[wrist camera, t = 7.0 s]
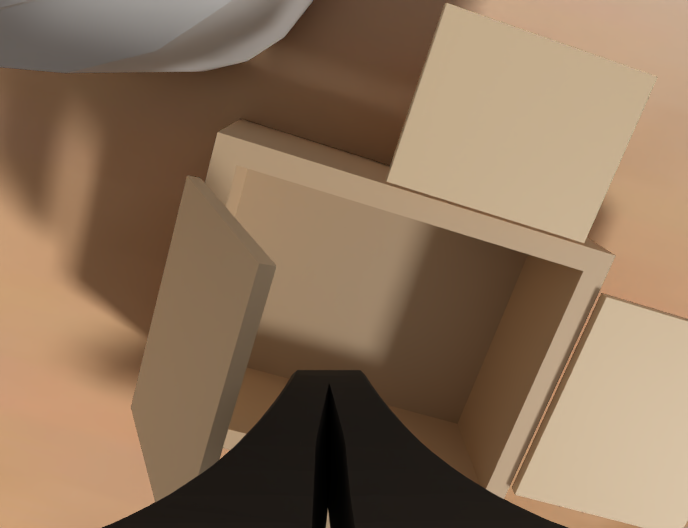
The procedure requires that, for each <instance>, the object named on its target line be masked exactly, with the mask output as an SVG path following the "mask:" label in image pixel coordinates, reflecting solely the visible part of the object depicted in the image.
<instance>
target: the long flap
mask: <svg viewBox="0 0 688 528" xmlns="http://www.w3.org/2000/svg"><path fill="white" fill-rule="evenodd" d="M276 267H277V266H276V264H275V263H274V262H273V261H272V260H271V259H270V257H269V256H268V255H267V254H266V253H265V252H264V251H263V249H262V248H261V247H260V246H259V245H258V244H257V243H256V241H255V240H254V239H253V238H252V237H251V236H250V234H249V233H248V232H247V231H246V230H245V229H244V228H243V226H242V225H241V224H240V223H239V222H238V221H237V220H236V218H235V217H234V216H233V215H232V214H231V213H230V211H229V210H228V209H227V208H226V207H225V206H224V205H223V203H222V202H221V201H220V200H219V199H218V198H217V197H216V195H215V194H214V193H213V192H212V191H211V190H210V188H209V187H208V186H207V185H206V184H205V183H204V182H203V180H202V179H201V178H198V177H193V176H188V175H187V178H186V182H185V186H184V190H183V194H182V198H181V202H180V207H179V211H178V215H177V219H176V223H175V227H174V231H173V235H172V240H171V244H170V248H169V252H168V256H167V260H166V264H165V268H164V272H163V277H162V281H161V285H160V289H159V293H158V297H157V301H156V305H155V310H154V314H153V318H152V322H151V326H150V330H149V334H148V338H147V343H146V347H145V351H144V355H143V359H142V363H141V367H140V371H139V376H138V380H137V384H136V388H135V392H134V396H133V400H132V404H131V410H132V414H133V418H134V422H135V425H136V429H137V433H138V437H139V441H140V445H141V449H142V453H143V456H144V460H145V464H146V468H147V472H148V476H149V480H150V484H151V487H152V491H153V495H154V499H155V502H157V501H159V500H160V499H162V498H164V497H166V496H167V495H169V494H171V493H173V492H174V491H176V490H177V489H179V488H180V487H182V486H183V485H185V484H186V483H188V482H189V481H191V480H192V479H194V478H195V477H197V476H198V475H200V474H201V473H203V472H204V471H206V470H207V469H208V468H210V467H211V466H212V465H214V464H215V463H216V462H217V461H219V459H220V455H221V452H222V449H223V445H224V442H225V439H226V435H227V432H228V429H229V425H230V422H231V418H232V415H233V412H234V408H235V405H236V402H237V398H238V395H239V391H240V388H241V385H242V381H243V378H244V375H245V371H246V368H247V365H248V361H249V358H250V354H251V351H252V348H253V344H254V341H255V338H256V334H257V331H258V327H259V324H260V321H261V317H262V314H263V311H264V307H265V304H266V301H267V297H268V294H269V290H270V287H271V284H272V280H273V277H274V274H275V270H276Z"/></svg>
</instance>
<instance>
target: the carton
mask: <svg viewBox="0 0 688 528" xmlns="http://www.w3.org/2000/svg"><path fill="white" fill-rule="evenodd" d="M656 79H657V76H654V75H652V74H649V73H646V72H643V71H640V70H637V69H634V68H632V67H629V66H626V65H623V64H620V63H617V62H614V61H612V60H609V59H606V58H603V57H600V56H597V55H594V54H592V53H589V52H586V51H583V50H580V49H577V48H574V47H572V46H569V45H566V44H563V43H560V42H557V41H554V40H552V39H549V38H546V37H543V36H540V35H537V34H535V33H532V32H529V31H526V30H523V29H520V28H517V27H515V26H512V25H509V24H506V23H503V22H500V21H497V20H495V19H492V18H489V17H486V16H483V15H480V14H477V13H475V12H472V11H469V10H466V9H463V8H460V7H457V6H455V5H452V4H449V3H445V4H444V6H443V9H442V12H441V15H440V18H439V21H438V24H437V27H436V30H435V33H434V36H433V39H432V42H431V45H430V48H429V51H428V54H427V57H426V60H425V63H424V66H423V69H422V72H421V75H420V78H419V81H418V84H417V87H416V90H415V93H414V96H413V99H412V102H411V105H410V108H409V111H408V114H407V117H406V120H405V123H404V126H403V129H402V131H401V134H400V137H399V140H398V143H397V146H396V149H395V152H394V155H393V158H392V161H391V164H390V166H389V165H386V164H383V163H380V162H377V161H374V160H370V159H367V158H364V157H361V156H358V155H355V154H351V153H348V152H345V151H342V150H339V149H335V148H332V147H329V146H326V145H323V144H320V143H316V142H313V141H310V140H307V139H304V138H300V137H297V136H294V135H291V134H288V133H285V132H281V131H278V130H275V129H272V128H269V127H266V126H262V125H259V124H256V123H253V122H250V121H246V120H243V119H239V120H237V121H236V122H234V123H232V124H231V125H229V126H227V127H225V128H224V129H222V130H220V131H218V132H217V136H216V140H215V144H214V148H213V152H212V156H211V160H210V164H209V168H208V172H207V176H206V180H205V184H206V185H207V186H208V187H209V188H210V190H211V191H212V192H213V193H214V194H215V195H216V197H217V198H218V199H219V200H220V201H221V202H222V203H223V205H224V206H225V207H226V208H227V209H228V210H229V211H230V213H231V214H232V215H233V216H234V217H235V218H236V220H237V221H238V222H239V223H240V224H241V225H242V226H243V228H244V229H245V230H246V231H247V232H248V233H249V234H250V236H251V237H252V238H253V239H254V240H255V241H256V243H257V244H258V245H259V246H260V247H261V248H262V249H263V251H264V252H265V253H266V254H267V255H268V256H269V257H270V259H271V260H272V261H273V262H274V263H275V264H276V266H277V267H276V270H275V274H274V277H273V280H272V284H271V287H270V290H269V294H268V297H267V301H266V304H265V307H264V311H263V314H262V317H261V321H260V324H259V327H258V331H257V334H256V338H255V341H254V344H253V348H252V351H251V354H250V358H249V361H248V365H247V368H246V371H245V375H244V378H243V381H242V385H241V388H240V391H239V395H238V398H237V402H236V405H235V408H234V412H233V415H232V418H231V422H230V425H229V429H228V432H227V435H226V439H225V442H224V445H223V448H224V449H228V450H231V449H232V448H233V447H234V446H235V445H236V444H237V443H238V442H239V441H240V440H241V439H242V438H243V437H244V436H245V435H246V434H247V433H248V432H249V431H250V430H251V429H252V428H253V426H254V425H255V424H256V423H257V422H258V421H259V420H260V419H261V417H262V416H263V415H264V414H265V412H266V411H267V410H268V409H269V407H270V406H271V405H272V404H273V402H274V401H275V400H276V398H277V397H278V396H279V394H280V393H281V391H282V390H283V389H284V387H285V385H286V384H287V382H288V381H289V379H290V377H291V375H292V374H293V373H295V372H296V371H297V370H361V371H362V372H363V373H364V374H365V375H366V377H367V378H368V380H369V381H370V383H371V384H372V386H373V387H374V389H375V390H376V392H377V393H378V394H379V396H380V397H381V398H382V399H383V401H384V402H385V403H386V405H387V406H388V407H389V408H390V409H391V411H392V412H393V413H394V414H395V415H396V416H397V417H398V419H399V420H400V421H401V422H402V423H403V424H404V425H405V426H406V428H407V429H408V430H409V431H410V432H411V433H412V434H413V435H414V436H415V437H416V438H417V439H418V440H419V441H420V442H421V443H423V444H424V445H425V446H426V447H427V448H428V449H430V450H431V451H432V452H433V453H434V454H436V455H437V456H438V457H440V458H441V459H442V460H443V461H445V462H446V463H447V464H449V465H450V466H451V467H453V468H454V469H455V470H457V471H458V472H460V473H461V474H463V475H464V476H466V477H467V478H469V479H470V480H472V481H474V482H475V483H477V484H479V485H480V486H482V487H483V488H485V489H487V490H488V491H490V492H492V493H493V494H495V495H497V496H499V497H501V498H503V499H504V498H505V495H506V493H507V491H508V489H509V487H510V485H511V482H512V480H513V478H514V476H515V474H516V471H517V469H518V467H519V465H520V463H521V461H522V458H523V456H524V454H525V452H526V450H527V448H528V445H529V443H530V441H531V439H532V437H533V434H534V432H535V430H536V428H537V426H538V424H539V421H540V419H541V417H542V415H543V413H544V411H545V408H546V406H547V404H548V402H549V400H550V397H551V395H552V393H553V391H554V389H555V387H556V384H557V382H558V380H559V378H560V376H561V374H562V371H563V369H564V367H565V365H566V363H567V360H568V358H569V356H570V354H571V352H572V350H573V347H574V345H575V343H576V341H577V339H578V337H579V334H580V332H581V330H582V328H583V326H584V323H585V321H586V319H587V317H588V315H589V313H590V310H591V308H592V306H593V304H594V302H595V300H596V297H597V295H598V293H599V291H600V289H601V286H602V284H603V282H604V280H605V278H606V276H607V273H608V271H609V269H610V267H611V265H612V263H613V260H614V258H615V255H614V254H612V253H611V252H609V251H607V250H606V249H604V248H603V247H601V246H600V245H598V244H597V243H595V242H594V241H592V240H590V239H589V238H587V236H588V233H589V231H590V229H591V227H592V224H593V222H594V220H595V218H596V215H597V213H598V211H599V209H600V206H601V204H602V202H603V200H604V197H605V195H606V193H607V190H608V188H609V186H610V184H611V181H612V179H613V177H614V175H615V172H616V170H617V168H618V166H619V163H620V161H621V159H622V156H623V154H624V152H625V150H626V147H627V145H628V143H629V141H630V138H631V136H632V134H633V132H634V129H635V127H636V125H637V122H638V120H639V118H640V116H641V113H642V111H643V109H644V107H645V104H646V102H647V100H648V98H649V95H650V93H651V91H652V89H653V86H654V84H655V82H656ZM512 489H513V491H514V494H515V495H518V496H522V497H526V498H530V499H534V500H538V501H542V502H546V503H550V504H553V505H557V506H561V507H565V508H569V509H573V510H577V511H581V512H585V513H588V514H592V515H596V516H600V517H604V518H608V519H612V520H616V521H620V522H623V523H627V524H631V525H635V526H639V527H643V528H684V526H685V524H686V522H687V521H688V319H686V318H683V317H680V316H676V315H673V314H670V313H667V312H663V311H660V310H657V309H653V308H650V307H647V306H643V305H640V304H637V303H633V302H630V301H627V300H624V299H620V298H617V297H614V296H610V295H607V294H604V293H601V295H600V297H599V299H598V302H597V304H596V306H595V308H594V310H593V312H592V315H591V317H590V319H589V321H588V323H587V325H586V328H585V330H584V332H583V334H582V336H581V339H580V341H579V343H578V345H577V347H576V349H575V352H574V354H573V356H572V358H571V360H570V362H569V365H568V367H567V369H566V371H565V373H564V375H563V378H562V380H561V382H560V384H559V386H558V388H557V391H556V393H555V395H554V397H553V399H552V401H551V404H550V406H549V408H548V410H547V412H546V414H545V417H544V419H543V421H542V423H541V425H540V427H539V430H538V432H537V434H536V436H535V438H534V440H533V443H532V445H531V447H530V449H529V451H528V454H527V456H526V458H525V460H524V462H523V464H522V467H521V469H520V471H519V473H518V475H517V477H516V480H515V482H514V484H513V486H512Z"/></svg>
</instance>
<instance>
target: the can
mask: <svg viewBox="0 0 688 528" xmlns="http://www.w3.org/2000/svg"><path fill="white" fill-rule="evenodd" d="M312 2H313V0H0V67H3V68H14V69H25V70H36V71H47V72H58V73H117V72H194V71H209V70H213V69H217V68H221V67H225V66H229V65H233V64H237V63H242V62H246V61H248V60H250V59H251V58H253V57H254V56H256V55H258V54H259V53H261V52H262V51H264V50H265V49H267V48H268V47H270V46H271V45H273V44H275V43H276V42H278V41H279V40H281V39H282V38H284V37H285V36H286V35H287V33H288V32H289V31H290V29H291V28H292V27H293V26H294V24H295V23H296V22H297V21H298V19H299V18H300V17H301V16H302V14H303V13H304V12H305V11H306V9H307V8H308V7H309V6H310V4H311V3H312Z"/></svg>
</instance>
